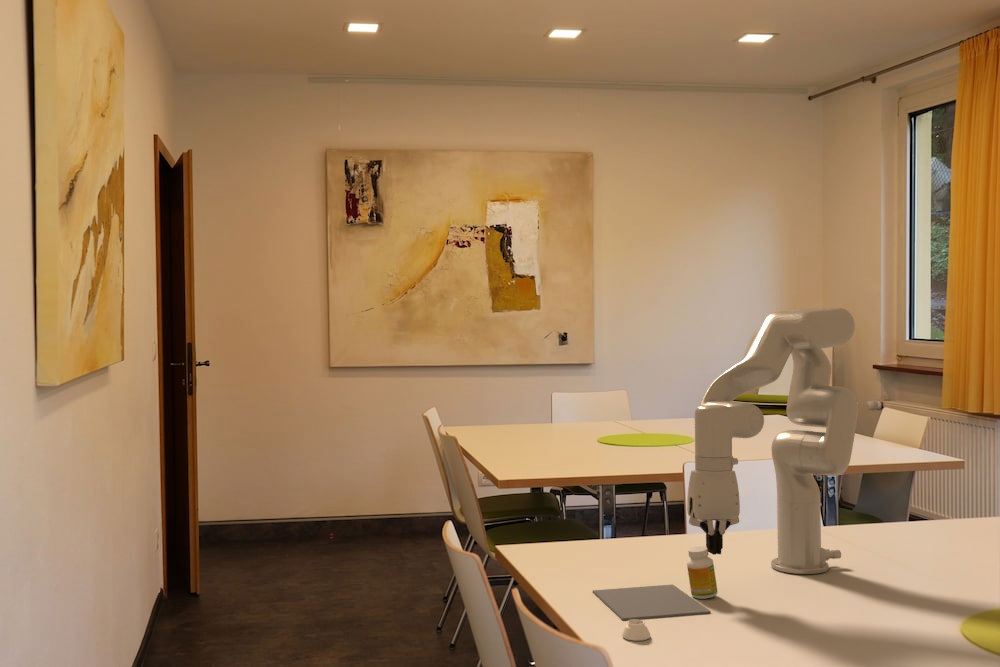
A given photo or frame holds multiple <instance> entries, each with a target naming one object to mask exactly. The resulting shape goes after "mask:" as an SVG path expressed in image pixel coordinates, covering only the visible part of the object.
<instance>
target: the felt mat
mask: <svg viewBox="0 0 1000 667" xmlns="http://www.w3.org/2000/svg"><path fill="white" fill-rule="evenodd" d="M592 593H593V594H594V595H595V597H597V598H598V599H599V600H600V601H601V602H602V603H603V604H605V606H607V608H609V609H610V610H611V611H612V612H613V613H614V614H615V616H617V617H618V618H619V619H620V620H621V621H629V620H634V619H637V620H643V619H644V620H645V619H655V618H656V619H657V618H658V619H659V618H667V617H668V618H669V617H680V616H682V617H683V616H694V615H706V614H707V615H709V614H712V612H711V610H710V609H708V608H707V607H706V606H704V605H703V604H702V603H700V602H698V600H696V599H694V597H692V596H690V595H689V594H687V593H686V592H684V591H683V590H681V589H680V588H678V586H676V585H674V584H663V585H648V586H635V587H634V586H633V587H622V588H608V589H607V588H605V589H593V590H592Z"/></svg>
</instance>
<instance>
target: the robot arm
mask: <svg viewBox="0 0 1000 667" xmlns="http://www.w3.org/2000/svg"><path fill="white" fill-rule="evenodd" d="M855 328H856V327H855V320H854V317H853V315H852V314H851V312H850V311H849V310H847V309H845V308H843V307H820V308H819V307H816V308H815V307H814V308H813V307H812V308H805V307H804V308H795V309H792V310H787V311H785V310H784V311H782V310H781V311H776V312H775V311H774V312H772V313H770V314H768V315H767V316H766V317H765V318H764V319H763V321H762V323H761V324H760V327H759V328H758V330H757V332H756V334H755V336H754V338H753V340H752V342H751V344H750V346H749V347H748V350H747V352H746V353H745V356H744V358H743V359H742V360H741V361H739V362H738V363H736V364H735V365H733V366H732V367H730V368H729V369H728V370H726V371H725V372H723V373H722V374H720V375H719V376H718V377H717V378H716V379H715V380H714V381H713V382H712V383H711V384H710V386H709V387H708V389H707V390H706V392H705V394H704V396H703V398H702V399H701V402H700V404H699V406H697V407H696V409H695V411H694V451H695V452H694V463H695V464H694V465H695V466H694V470H691V471H690V475H689V481H688V488H687V489H688V490H687V500H686V501H687V502H686V512H687V515H688V516H689V519H688V524H689V525H691V526H693V527H698V528H700V529H701V530H702V531H703V532H704V533H705V547H707V548H708V553H710V554H712V555H722V550H723V545H724V543H723V542H724V540H723V538H724V537H723V536H724V535H725V534H726V531H727V530H728V528H729V527H730V526H734V525H737V524H739V523H740V517H739V516H740V513H741V512H740V511H741V510H740V509H741V505H740V501H741V500H740V492H739V485H738V484H739V483H738V479H737V476H736V475H737V474H736V471H735V470H733V469H734V466H735V465H738V464H739V459H738V458H737V457H734V456H733V438H735V439H751V438H753V437H755V436H757V435H759V433H761V431H762V429H764V424H765V417H764V413H763V411H762V410H761V408H759V407H758V406H756V405H755V404H752V403H749V402H736V401H734V400H735V399H736V398H738V397H740V396H742V395H744V394H746V393H748V392H751V391H754V390H757V389H760V388H762V387H765V386H768V385H770V384H772V383H774V382H776V381H777V380H778V379H779V377H780V376H781V375H782V372H783V369H784V368H785V365H786V363H787V362H788V360H789V357H792V360H793V363H792V364H793V365H792V366H793V368H792V375H791V380H790V386H789V391H788V397H787V401H786V402H787V403H786V416H787V419H788V421H790V423H792V424H794V425H798V426H802V427H804V426H805V427H814V428H825V429H826V430H825V432H824V431H823V432H822V431H814V430H813V431H812V430H803V429H801V430H799V429H790V430H789V429H788V430H784V431H781V432H779V433H778V434H776V436H775V437H774V439H773V441H772V443H771V457H772V462H773V466H774V471H775V479H776V509H777V510H776V516H777V518H776V520H777V522H776V523H777V524H776V525H777V557H776V558H775V557H774V558H773V559H772V560H771V562H770V565H771V566H770V567H771V568H773V570H776V571H779V572H782V573H787V574H796V575H817V574H822V573H825V572H828V571H829V563H828V562H827V561H829V560H830V559H832V560H834V559H835V560H836V559H837V560H839V559H841V558H842V552H841V550H839V549H834V550H833V549H832V550H830V548H828V549H827V548H823V547H822V526H821V524H822V523H821V521H822V520H821V519H822V518H821V517H822V516H821V491H820V487H819V485H818V483H817V481H816V479H815V477H814V475H821V476H830V477H831V476H832V477H836V476H837V477H838V476H840V475H843V474H844V473H846V471H847V469H848V468H849V465H850V462H851V457H852V452H853V447H854V440H855V434H856V429H857V425H858V424H857V423H858V417H859V404H858V400H857V397H856V395H855V393H854V392H853V391H852V390H850V389H849V388H847V387H845V386H835V385H830V382H831V374H832V364H831V362H830V360H829V358H828V356H827V354H826V352H824V350H823V349H827V348H832V347H840V346H842V345H843V346H844V345H846V344H847V343H848V342H849V341H851V339H852V338H853V336H854V333H855ZM790 355H791V356H790Z"/></svg>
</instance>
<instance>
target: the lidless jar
mask: <svg viewBox="0 0 1000 667" xmlns="http://www.w3.org/2000/svg"><path fill="white" fill-rule="evenodd" d="M621 637H622V638H624V639H625V640H628V641H631V642H643V641H646V640H648V639H650V638H651V633H650V630H649V629H648V627H647V625H646V622H645V621H644V620H643V619H633V620H627V624H626V625H625V626H624V628H623V630H622V632H621Z"/></svg>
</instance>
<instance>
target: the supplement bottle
mask: <svg viewBox="0 0 1000 667" xmlns="http://www.w3.org/2000/svg"><path fill="white" fill-rule="evenodd" d="M687 552H688V557H689V558H688V560H687V562H686V567H687V574H688V580H689V588H690V594H691V597H692V598H693V599H694V598H695V599H698V600H704V599H710V598H714V597H716V596H717V594H718V586H717V580H716V579H717V578H716V572H715V566H714V560H713V559H712V557H710V556H709V555H710V554H709V552H708V548H707V547H706V546H701V545H700V546H693V547H691V548H690V547H689V548H688V551H687Z"/></svg>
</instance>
